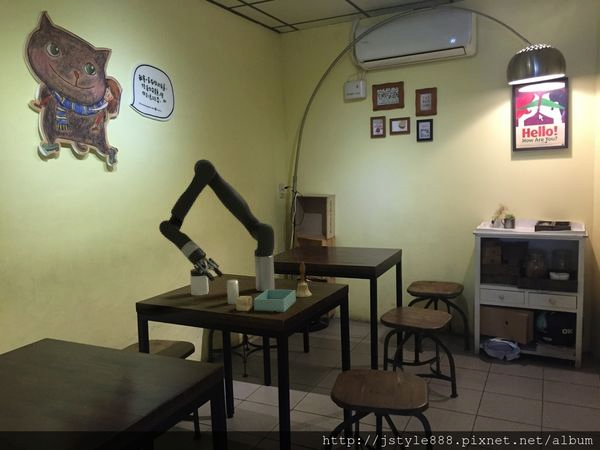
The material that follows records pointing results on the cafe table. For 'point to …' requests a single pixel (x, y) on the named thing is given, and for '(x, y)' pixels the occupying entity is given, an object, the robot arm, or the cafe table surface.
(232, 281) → the cylinder
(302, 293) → the hand bell
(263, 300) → the tote
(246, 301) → the cube
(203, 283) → the jar
